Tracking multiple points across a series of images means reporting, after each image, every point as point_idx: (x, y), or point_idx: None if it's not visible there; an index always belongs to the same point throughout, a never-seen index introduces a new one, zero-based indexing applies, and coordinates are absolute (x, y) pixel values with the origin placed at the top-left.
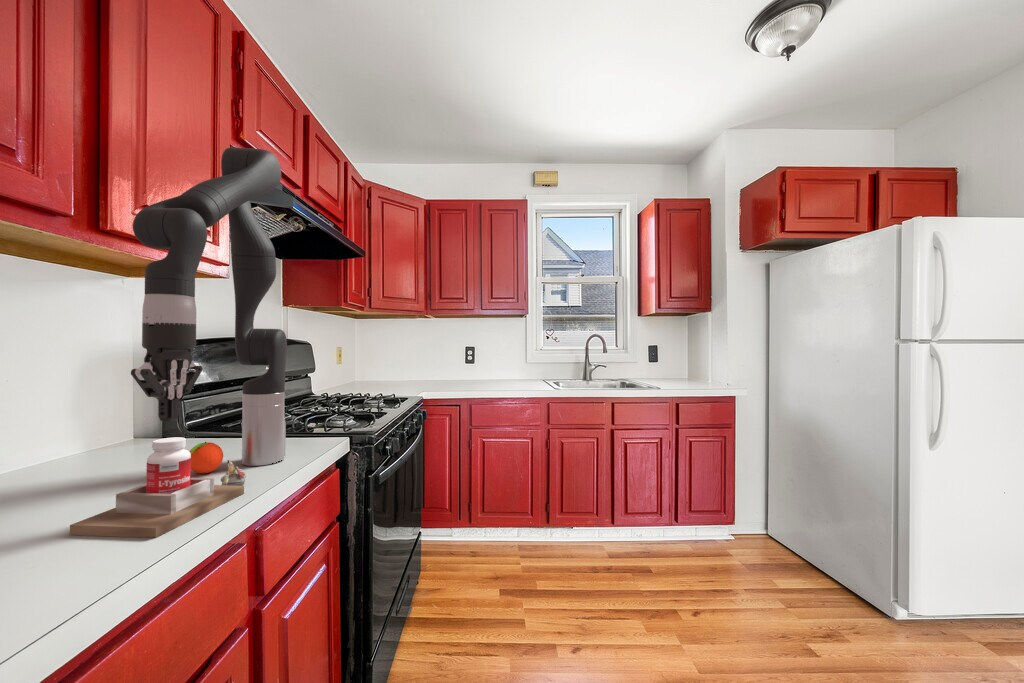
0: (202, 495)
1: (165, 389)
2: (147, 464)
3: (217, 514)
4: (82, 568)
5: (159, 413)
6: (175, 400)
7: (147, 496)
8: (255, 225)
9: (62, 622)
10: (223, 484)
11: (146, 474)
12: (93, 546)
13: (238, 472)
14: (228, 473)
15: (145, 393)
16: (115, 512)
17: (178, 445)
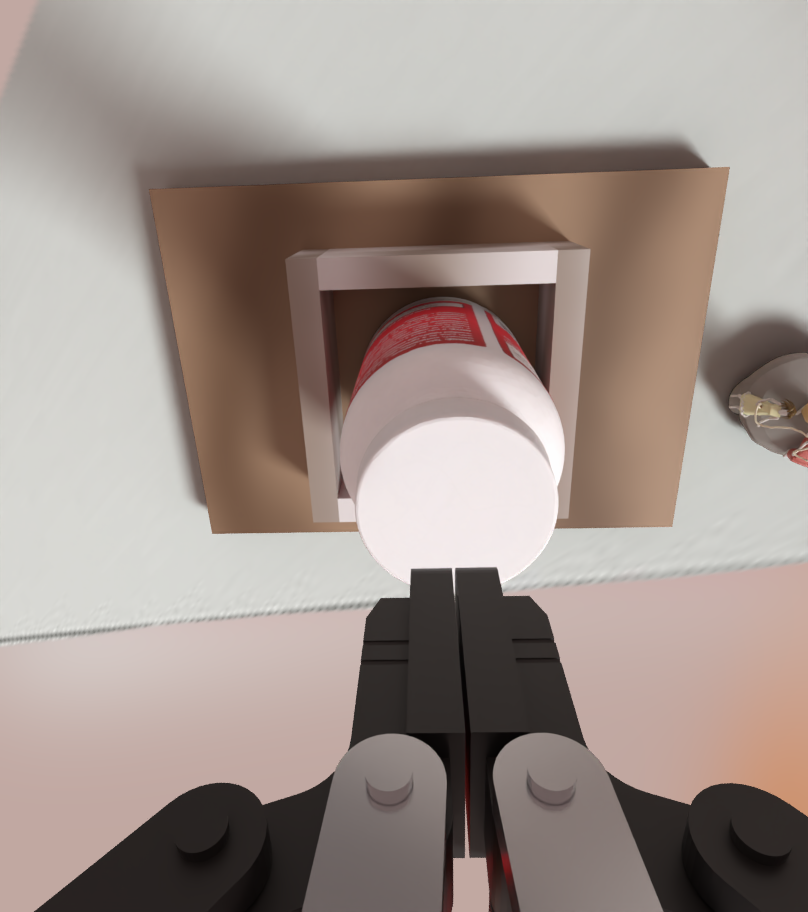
0: None
1: (513, 895)
2: (355, 394)
3: None
4: (19, 487)
5: (364, 644)
6: (469, 845)
7: (304, 419)
8: None
9: None
10: (749, 385)
11: (373, 358)
12: (123, 381)
13: (800, 457)
14: (777, 427)
15: (120, 844)
16: (304, 245)
17: None
